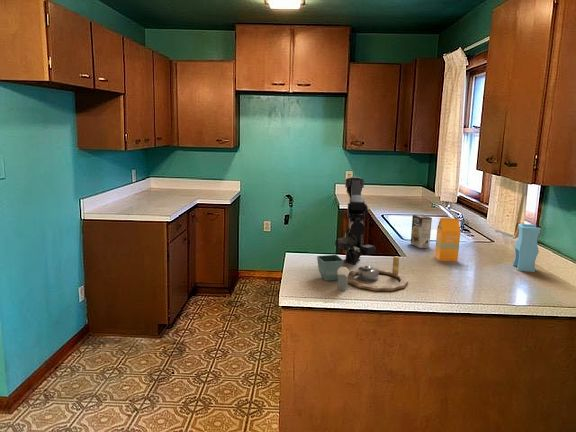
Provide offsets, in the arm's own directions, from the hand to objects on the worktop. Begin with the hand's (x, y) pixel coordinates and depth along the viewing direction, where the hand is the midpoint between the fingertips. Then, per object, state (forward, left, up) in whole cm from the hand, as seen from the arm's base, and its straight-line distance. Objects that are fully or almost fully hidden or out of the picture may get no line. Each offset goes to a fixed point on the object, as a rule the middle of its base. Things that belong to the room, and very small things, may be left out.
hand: (354, 265), depth 202 cm
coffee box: (-62, +17, -4) cm, 65 cm away
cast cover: (+4, +8, -4) cm, 9 cm away
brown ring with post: (+6, +12, -4) cm, 13 cm away
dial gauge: (+22, +3, -4) cm, 22 cm away
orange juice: (-43, +33, -4) cm, 54 cm away
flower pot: (+12, -6, -4) cm, 14 cm away
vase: (-44, +67, -4) cm, 80 cm away
